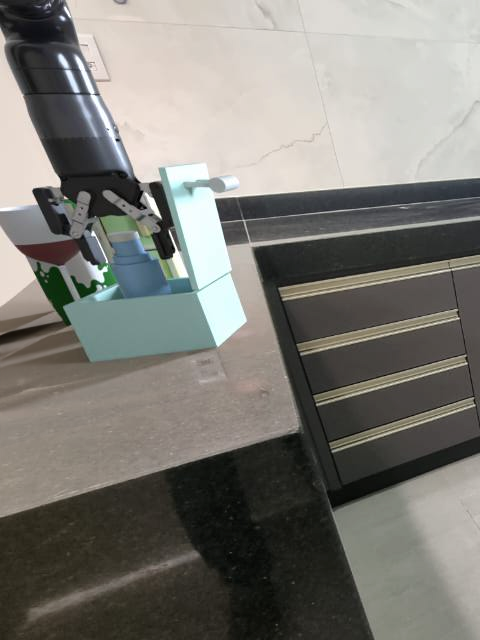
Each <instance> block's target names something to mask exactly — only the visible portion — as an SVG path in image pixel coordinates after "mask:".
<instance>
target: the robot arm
mask: <svg viewBox="0 0 480 640" xmlns="http://www.w3.org/2000/svg"><path fill="white" fill-rule="evenodd" d="M69 7H70V6H69V5H68V1H67V0H0V31H1V33H2V35H3V37H4V40H5V43H4V45H3V51H4V56H5V60H6V61H7V64H8V67H9V69H10V70H11V71H10V72H11V74H12V76H13V78H14V80H15V83H16V84H17V86H18V89H19V91H20V93H21V95H22V97H23V100H24V103H25V107H26V111H27V113H28V117H29V119H30V122H31V123H32V126H33V127H34V130H35V132H36V135H37V137H38V140H39V142H40V143H41V145H42V147H43V150H44V152H45V154H46V156H47V158H48V161H49V163H50V165H51V168H52V169H53V172H54V173H55V174H56V176H57V177H58V178H59V181H60V185H59V187H58V186H55V187H54V186H51V185H47V186H40V187H39V186H38V187H33V188H32V190H31V192H32V195H33V197H34V199H35V202H36V203H37V205H39V207H40V210H41V212H42V214H43V216H44V218H45V220H46V222H47V224H48V226H49V228H50V230H51V232H52V233H53V234H56V235H60V234H61V235H66V236H70V237H72V238H74V239H75V241H76V243H77V245H78V247H79V249H80V251H81V254H82V256H83V258H84V259H85V260H86V261H87V262H90V263H91V265H93V266H95V265H101V264H104V263H106V258H105V256H104V254H105V253H104V254H103V252H104V251H103V252H102V249H101V247H100V245H99V243H98V241H97V239H98V238H96V237H97V236H92V235H91V234H92V232H93V231H94V230H93V229H94V226H95V223H96V222H97V221H98V220H99V217H106V216H110V215H113V216H125V215H129V216H130V217H132V218H133V219H134V220H136V221H139V222H141V223H142V224H143V225H144V226H146V227H147V228H148V229H150V230H151V231H152V232H153V233H152V234H150V235H151V237H152V239H153V242H154V244H155V247H156V249H157V252H158V254H159V257H160V259H161V260H168V259H171V258H173V254H174V253H175V252H176V249H175V246H174V244H173V241H172V239H171V236H170V234H169V230H171V228H175V226H174V223H173V219H172V216H171V212H170V209H169V205H168V201H167V198H166V194H165V191H164V187H163V184H162V180H155V181H151V182H150V181H149V182H141V181H140V180H139V179H138V178H137V176H136V175H135V170H134V166H133V165H132V162H131V159H130V157H129V155H128V152H127V150H126V147H125V144H124V141H123V140H122V137H121V135H120V130H119V127H118V126H117V124H116V123H115V120H114V118H113V115H112V113H111V111H110V109H109V107H108V106H107V104H106V103H105V101H104V99H103V96H102V95H101V92H100V90H99V87H98V85H97V82H96V79H95V77H94V74H93V72H92V70H91V68H90V65H89V63H88V61H87V59H86V56H85V55H84V53H83V50H82V49H81V45H80V42H79V41H80V40H79V37H78V33H77V31H76V27H75V23H74V20H73V19H74V18H73V16H72V13H71V10H70V8H69ZM144 191H145V192H146V193H147V194H148V195H149V197H151V198H153V199H154V201H155V203H156V206H157V208H158V211H159V213H160V216H161V218H162V219H161V218H160V217H159V216H158V215H156V214H155V211H154V210H153V209H151V208H150V207H149V206H148V205H146V204H145V203H144V202H143V201H141V197H142V195H143V193H144ZM64 199H69V200H70V201H72V202H73V203H75V204H76V207H75V210H74V213H73V216H72V220H73V223H72V222H71V220H70V218H69V216H68V214H67V212H66V209H65V207H64V205H63V203H64V201H65V200H64Z"/></svg>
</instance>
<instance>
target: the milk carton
mask: <svg viewBox="0 0 480 640" xmlns="http://www.w3.org/2000/svg"><path fill="white" fill-rule="evenodd" d="M64 200H65V201H64V203H71V205H72V207H73V209H74V210H75V207H76V204H75V203H73V202H72V201H70V200H69V199H68V198H64ZM91 235H92V236H96V234H95V232H94V230H93V232H92V234H91ZM96 238H97V236H96ZM97 241H98V238H97ZM98 243H99V241H98ZM99 245H100V243H99ZM100 247H101V245H100ZM101 249H102V247H101ZM102 252H103V254H104V256H105V253H104V251H103V249H102ZM105 258H106V256H105ZM25 259H26V261H27V262H28V265H29V266H30V268H31V270H32V272H33V274H34V276H35V278H36V280H37V282H38V285H40V288H41V290H42V291H43V293H44V295H45V297H46V299H47V301H48V302H49V304H50V305H51V307H52V308H53V309H54V311H55V312H56V313H57V314H58V316H59V317H60V318H61V320H62V321H63V323H64V324H65V325H66V327H70V326H72V324H71V322H70V320H69V318H68V316H67V314H66V312H65V310H64V308H63V306H65V305H67V304H70V303H72V302H74V301H75V300H74V298H73V296H72V294H71V292H70V290H69V288H68V286H67V284H66V282H65V280H64V278H63V276H62V274H61V272H60V270H59V268H58V266H57V265H54V264H50V263H46V262H41V261H38V260H34V259H32V258H29V257H27V256H25ZM65 267H66V269H67V271H68V273H69V275H70V277H71V280H72V282H73V284H74V286H75V288H76V290H77V292H78V294H79V296H80V298H83V297H86V296H88V295H90V294H93V293H95V292H97V291H99V290H102V289H104V288H106V287H109V286H111V285H113V284H116V283H117V281H116V279H115V277H114V274H113V272H112V270H111V268H110V264H109V262H108V260H107V258H106V263H104V264H101V265H95V266H93V265H91V263H90V262H87V261H86V260H85V259H84V258H83V256H82V254H81V251H79V253H78V254H76V255H75V256H74V257H73V258H72V259H70V260H69V261H68V262H66V263H65Z"/></svg>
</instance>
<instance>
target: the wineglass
mask: <svg viewBox="0 0 480 640" xmlns="http://www.w3.org/2000/svg"><path fill="white" fill-rule="evenodd" d="M63 205H64V207H65V209H66V212H67V214H68V216H69V218H70V220H71V222H72V223H73V220H72V216H73V213H74V209H73V207H72V205H71V203H63ZM0 228H1V229H2V231H3V233H4V234H5V235H6V236H7V238H8V239H9V241H10V242H11V243H12V244H13V246H15V248H16V249H17V250H18V251H19V252H20V253H21V254H22V255H24V256H25V257H26V256H27V257H29V258H32V259H34V260H38V261H41V262H46V263H50V264H54V265H57V266H58V268H59V270H60V272H61V274H62V276H63V278H64V280H65V282H66V284H67V286H68V288H69V290H70V292H71V294H72V296H73V298H74V300H75V301H77V300H79V299H81V298H80V296H79V294H78V292H77V290H76V288H75V286H74V284H73V282H72V280H71V277H70V275H69V273H68V271H67V269H66V267H65V263H66V262H68V261H69V260H70V259H72V258H73V257H74V256H75V255H76V254H78V253H79V251H80V249H79V247H78V245H77V243H76V241H75V239H74V238H72V237H70V236H66V235H61V234H60V235H56V234H53V233H52V232H51V230H50V228H49V226H48V224H47V222H46V220H45V218H44V216H43V214H42V212H41V210H40V207H39V205H38V204H29V205H28V204H27V205H19V206H18V205H17V206H9V207H2V208H0Z"/></svg>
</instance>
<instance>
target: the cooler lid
mask: <svg viewBox="0 0 480 640" xmlns="http://www.w3.org/2000/svg"><path fill="white" fill-rule="evenodd" d="M157 169H158V173H159V177H160V181H162V184H163V187H164V191H165V194H166V198H167V201H168V205H169V209H170V212H171V216H172V219H173V223H174V230H175V233H176V237H177V241H178V245H179V247H180V251H181V254H182V258H183V263H184V267H185V270H186V272H187V274H188V277H189V280H190V283H191V287H192V290H199V289H201V288H203V287H204V286H206V285H208V284H209V283H211V282H213V281H214V280H216V279H218V278H219V277H221V276H223V275H224V274H226V273H230V272H231V271H232V270H233V269H232V265H231V261H230V257H229V253H228V249H227V245H226V241H225V237H224V232H223V229H222V224H221V220H220V215H219V212H218V208H217V204H216V200H215V196H214V193H216V194H221V193H225V192H230V191H234V190H236V189H238V188H239V187H240V181H239V180H238V178H237V177H236V176H234V175H232V174H226V175H221V176H215V177H211V178H210V177H209V171H208V167H207V164H206V162H196V163H194V162H193V163H186V164H178V165H168V166H161V167H158V168H157Z"/></svg>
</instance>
